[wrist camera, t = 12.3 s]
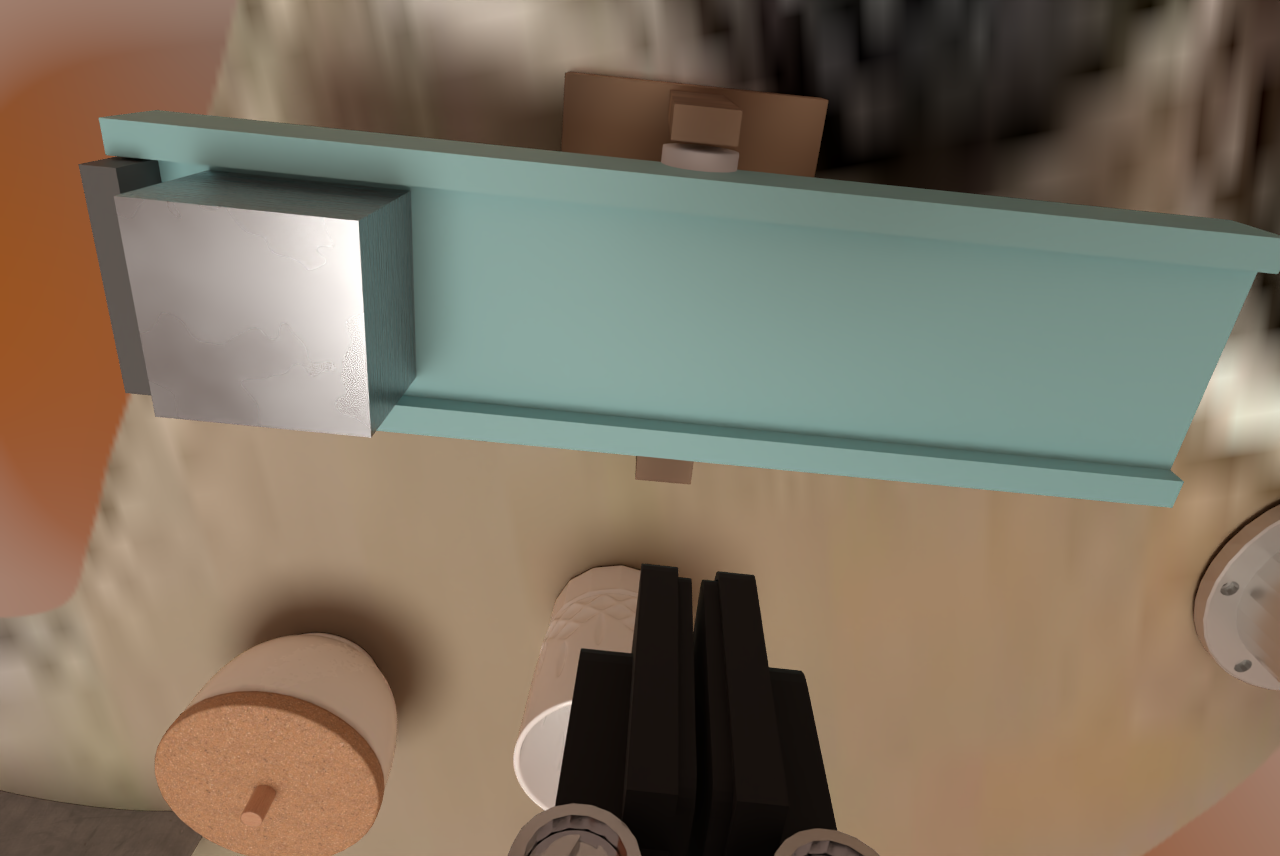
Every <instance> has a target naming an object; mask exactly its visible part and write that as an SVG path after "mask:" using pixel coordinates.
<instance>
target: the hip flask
mask: <svg viewBox="0 0 1280 856" xmlns="http://www.w3.org/2000/svg"><path fill="white" fill-rule="evenodd" d="M201 838H202V835H200V834H199V833H197V832H196V831H194V830H193V829H192V828H190V827H189V826H188V825H187V824H185V823H184V822H183V821H182V820H181V819H180V818H179V817H178V816H177V815H176V814H175V812H174V811H135V810H120V809H108V808H99V807H90V806H83V805H76V804H68V803H61V802H55V801H49V800H43V799H37V798H32V797H27V796H22V795H18V794H13V793H8V792H4V791H0V856H191V855H192V853H193V852H194V850H195V848H196V846H197V845H198V843H199V841H200V839H201Z"/></svg>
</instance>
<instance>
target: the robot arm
mask: <svg viewBox="0 0 1280 856" xmlns="http://www.w3.org/2000/svg"><path fill="white" fill-rule="evenodd" d="M1194 622H1195V627H1196V632H1197V635H1198V637H1199V639H1200V641H1201V643H1202V645H1203V647H1204V649H1205V650H1206V651H1207V652H1208V653H1209V654H1210V655H1211V656H1212V658H1213V659H1214V660H1215V661H1216V662H1217V663H1218V665H1219V666H1220V667H1222V668H1223V669H1224V670H1225V671H1226V672H1227V673H1229V674H1230V675H1231V676H1233V677H1235V678H1237V679H1239V680H1241V681H1243V682H1245V683H1248V684H1250V685H1254V686H1258V687H1261V688H1265V689H1270V690H1280V505H1278V506H1276V507H1274V508H1272V509H1270V510H1268V511H1266V512H1265V513H1264V514H1262V515H1261V516H1259V517H1258V518H1256V519H1255V520H1253V521H1252V522H1251V523H1249V524H1248V525H1246V526H1245V527H1244V528H1243V529H1242V530H1241V531H1239V532H1238V533H1237V534H1236V535H1235V536H1234V537H1233V538H1232V539H1231V540H1230V541H1229V542H1228V543H1227V544H1226V545H1225V546H1224V547H1223V548H1222V550H1221V551H1220V552H1219V553H1218V555H1217V556H1216V557H1215V558H1214V560H1213V561H1212V562H1211V564H1210V566H1209V568H1208V569H1207V571H1206V573H1205V575H1204V577H1203V578H1202V580H1201V583H1200V586H1199V589H1198V592H1197V595H1196V598H1195V607H1194ZM508 856H879V855H878V854H877V852H876V851H875V850H873V849H872V848H870V847H869V846H867V845H866V844H864V843H863V842H861V841H860V840H858V839H857V838H855V837H852V836H850V835H847V834H844V833H842V832H839V831H837V828H836V823H835V818H834V813H833V808H832V803H831V798H830V794H829V789H828V784H827V779H826V774H825V769H824V764H823V760H822V755H821V750H820V745H819V740H818V735H817V730H816V726H815V721H814V716H813V711H812V706H811V701H810V696H809V692H808V687H807V682H806V679H805V676H804V674H803V672H802V671H798V670H789V669H779V668H769V667H768V660H767V653H766V647H765V640H764V633H763V626H762V620H761V613H760V606H759V600H758V593H757V586H756V580H755V576H754V575H747V574H738V573H728V572H717V573H716V576H715V581H710V580H702V582H701V587H700V593H699V599H698V606H697V612H696V619H695V625H694V632H693V616H692V581H691V579H690V578H681V577H678V567H670V566H660V565H651V564H642V565H641V573H640V581H639V590H638V599H637V607H636V616H635V625H634V634H633V642H632V651H631V653H624V652H614V651H604V650H595V649H585V648H581V651H580V656H579V661H578V667H577V674H576V680H575V686H574V692H573V698H572V704H571V710H570V717H569V723H568V729H567V735H566V741H565V747H564V753H563V759H562V766H561V772H560V778H559V784H558V790H557V796H556V802H555V806H554V807H552V808H550V809H548V810H546V811H543V812H541V813H539V814H537V815H536V816H534V817H533V818H532V819H531V820H530V821H529V822H528V823H527V824H526V825H525V826H523V827H522V828H521V830H520V832H519V834H518V835H517V837H516V839H515V840H514V842H513V844H512V846H511V849H510V851H509V854H508Z"/></svg>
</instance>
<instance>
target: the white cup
mask: <svg viewBox="0 0 1280 856" xmlns="http://www.w3.org/2000/svg"><path fill="white" fill-rule="evenodd" d="M640 573H641V571H640V570H637V569H633V568H630V567H626V566H623V565H619V566H608V567H597V568H592V569H590V570H588V571H587V572H585V573H583V574H581V575H579V576H577V577H575V578H573V579H571V580H570V581H569V582H568V584H567V585H566V586H565V588H564V589H563V591H562V592H561V593H560V595H559V596H558V598H557V599H556V601H555V604H554V608H553V612H552V617H551V621H550V625H549V628H548V631H547V633H546V635H545V638H544V641H543V644H542V647H541V651H540V655H539V659H538V662H537V665H536V668H535V671H534V675H533V679H532V683H531V687H530V691H529V695H528V699H527V703H526V707H525V711H524V715H523V719H522V722H521V726H520V730H519V734H518V738H517V742H516V745H515V749H514V757H513V762H514V770H515V774H516V777H517V779H518V781H519V783H520V785H521V787H522V789H523V790H524V791H525V793H526V794H527V795H528V796H529V798H530V799H531V800H532V801H533V802H535V803H536V804H537V805H538V806H539V807H541V808H542V809H544V810H545V811H546V810H548V809H550V808H552V807H554V806H555V802H556V796H557V790H558V784H559V778H560V772H561V766H562V759H563V753H564V747H565V741H566V735H567V729H568V723H569V717H570V710H571V704H572V698H573V692H574V686H575V680H576V674H577V667H578V661H579V656H580V651H581V648H585V649H595V650H604V651H614V652H624V653H631V651H632V642H633V634H634V625H635V616H636V607H637V599H638V590H639V581H640Z"/></svg>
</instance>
